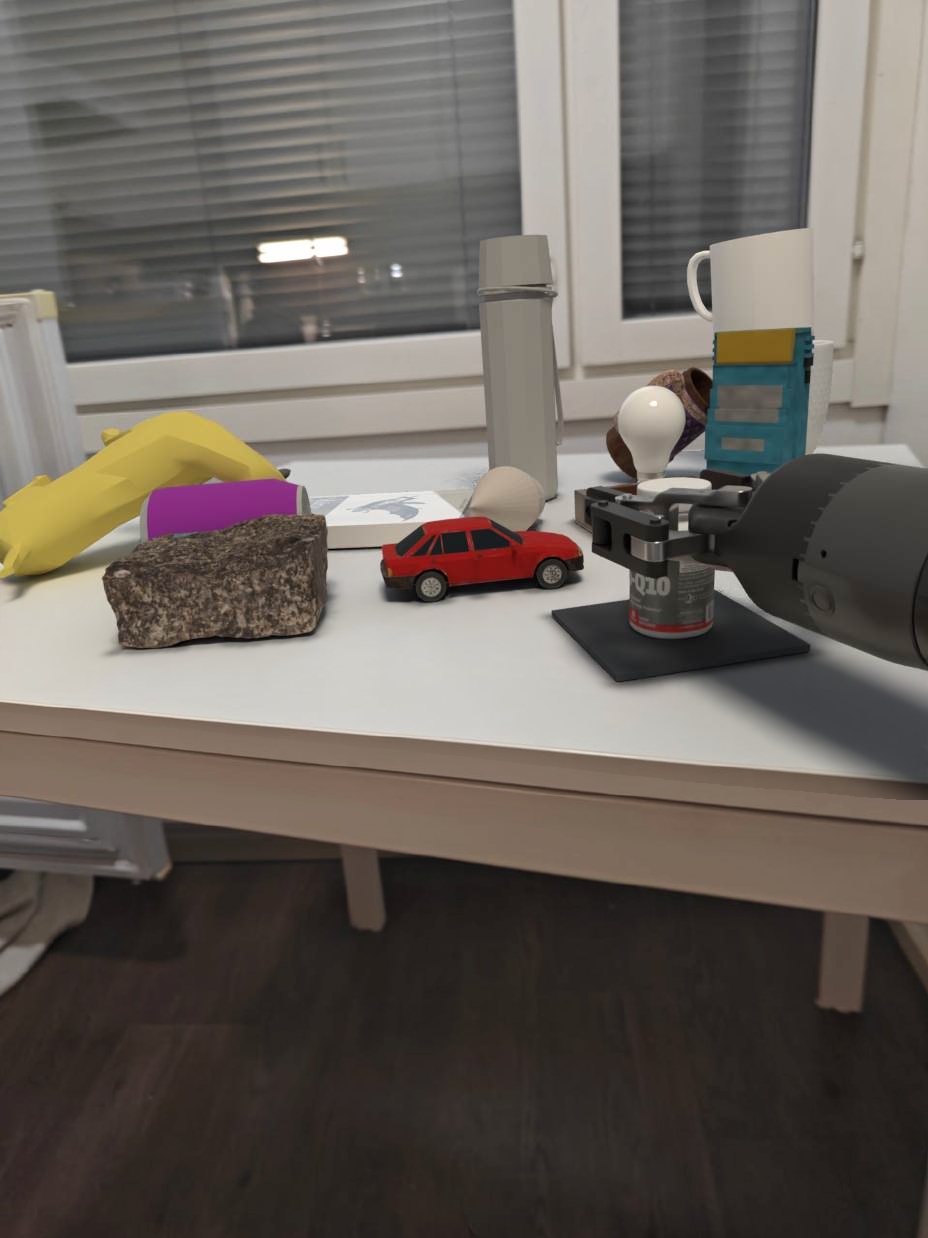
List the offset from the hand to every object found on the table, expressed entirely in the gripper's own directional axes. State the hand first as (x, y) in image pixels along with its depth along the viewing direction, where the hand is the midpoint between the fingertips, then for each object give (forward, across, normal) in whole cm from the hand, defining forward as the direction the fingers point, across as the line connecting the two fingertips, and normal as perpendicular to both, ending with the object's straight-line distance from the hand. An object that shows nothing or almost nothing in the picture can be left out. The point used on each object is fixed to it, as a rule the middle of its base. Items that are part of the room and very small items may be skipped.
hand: (649, 495), depth 49 cm
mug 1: (+40, -22, +5) cm, 46 cm away
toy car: (+13, +5, +8) cm, 16 cm away
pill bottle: (-2, 0, +8) cm, 8 cm away
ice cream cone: (+24, -2, +8) cm, 25 cm away
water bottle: (+38, -11, +8) cm, 41 cm away
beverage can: (+28, +27, +4) cm, 39 cm away
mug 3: (+35, -39, +8) cm, 53 cm away
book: (+36, +9, +8) cm, 38 cm away
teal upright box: (+26, -30, +8) cm, 40 cm away
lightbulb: (+29, -19, +8) cm, 35 cm away
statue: (+47, +32, +5) cm, 57 cm away
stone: (+15, +24, 0) cm, 29 cm away
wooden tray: (+19, -14, +8) cm, 25 cm away
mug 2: (+35, -36, -6) cm, 51 cm away
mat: (-2, 0, +8) cm, 8 cm away
